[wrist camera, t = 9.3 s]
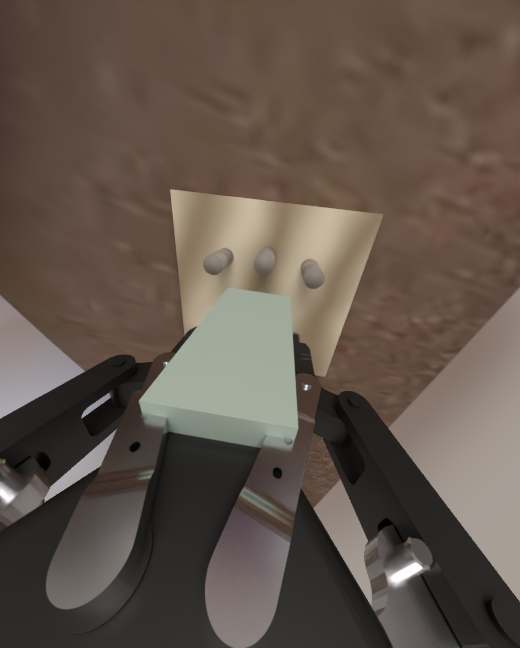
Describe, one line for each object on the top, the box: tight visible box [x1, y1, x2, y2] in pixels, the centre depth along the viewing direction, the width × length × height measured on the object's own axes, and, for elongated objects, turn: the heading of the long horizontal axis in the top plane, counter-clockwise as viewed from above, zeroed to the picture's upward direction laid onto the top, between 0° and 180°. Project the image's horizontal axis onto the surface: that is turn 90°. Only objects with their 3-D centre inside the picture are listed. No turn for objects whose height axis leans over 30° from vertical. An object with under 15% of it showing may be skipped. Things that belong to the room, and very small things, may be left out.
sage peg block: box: [139, 288, 298, 448], centre depth 11 cm, size 4×4×10 cm
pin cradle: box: [171, 190, 383, 377], centre depth 18 cm, size 16×16×5 cm
